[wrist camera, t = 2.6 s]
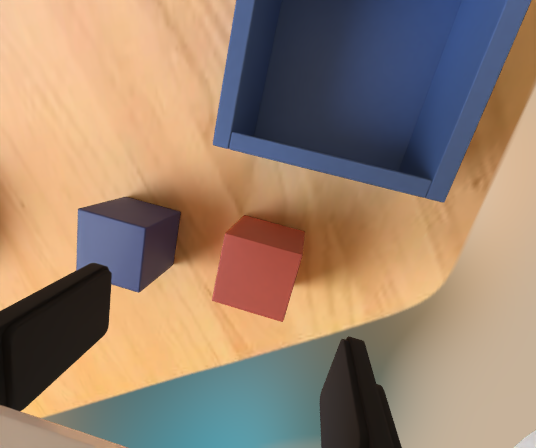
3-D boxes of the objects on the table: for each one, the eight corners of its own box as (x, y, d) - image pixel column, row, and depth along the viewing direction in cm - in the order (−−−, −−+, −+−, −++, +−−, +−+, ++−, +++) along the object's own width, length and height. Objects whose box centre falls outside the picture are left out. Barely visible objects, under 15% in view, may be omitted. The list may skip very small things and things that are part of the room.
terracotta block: (305, 231, 19) (302, 254, 15) (289, 286, 20) (282, 322, 16) (244, 214, 19) (224, 233, 15) (232, 270, 21) (211, 300, 16)
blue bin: (480, -15, 14) (581, -115, 9) (403, 186, 17) (444, 203, 12) (280, -50, 15) (262, -160, 10) (241, 146, 18) (212, 145, 13)
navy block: (181, 211, 20) (145, 227, 16) (173, 265, 21) (139, 293, 17) (125, 196, 20) (77, 208, 16) (121, 249, 22) (75, 273, 17)
